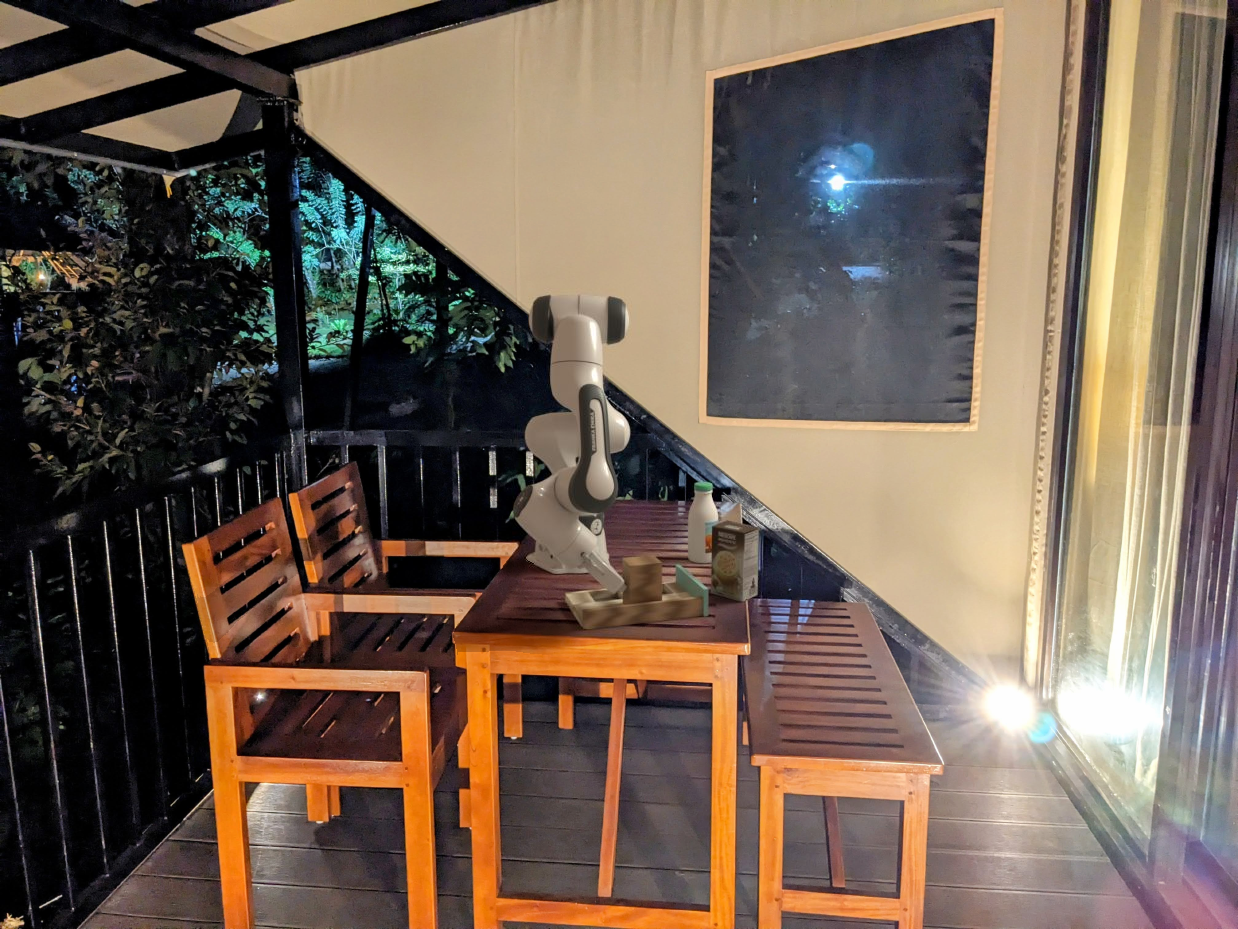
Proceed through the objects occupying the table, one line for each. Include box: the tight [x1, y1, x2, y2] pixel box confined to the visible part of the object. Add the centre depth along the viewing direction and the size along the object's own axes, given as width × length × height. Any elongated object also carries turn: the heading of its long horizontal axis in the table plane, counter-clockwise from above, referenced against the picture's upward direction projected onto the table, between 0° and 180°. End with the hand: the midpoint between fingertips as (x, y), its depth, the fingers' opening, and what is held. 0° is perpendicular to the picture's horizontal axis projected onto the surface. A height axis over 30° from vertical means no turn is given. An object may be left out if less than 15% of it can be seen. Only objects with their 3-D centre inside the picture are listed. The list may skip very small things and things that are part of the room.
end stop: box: [675, 564, 709, 617], centre depth 200 cm, size 1×18×6 cm, turn 16°
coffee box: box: [710, 520, 760, 602], centre depth 204 cm, size 9×6×16 cm
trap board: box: [564, 580, 704, 630], centre depth 197 cm, size 26×18×4 cm
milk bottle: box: [687, 481, 719, 564], centre depth 229 cm, size 8×8×20 cm
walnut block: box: [621, 554, 663, 605], centre depth 192 cm, size 7×6×10 cm
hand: (623, 587), depth 191 cm, fingers closed, pressing on walnut block
